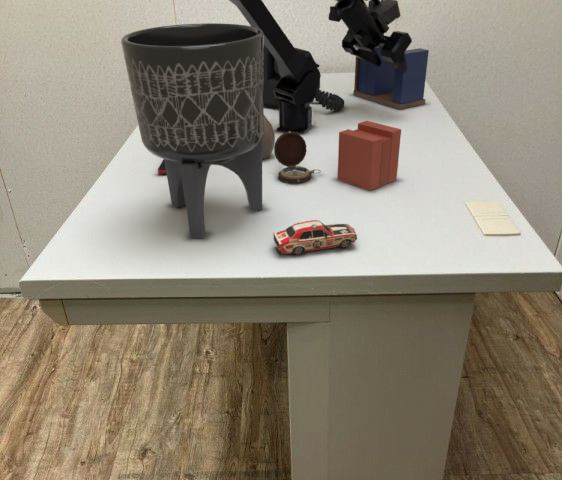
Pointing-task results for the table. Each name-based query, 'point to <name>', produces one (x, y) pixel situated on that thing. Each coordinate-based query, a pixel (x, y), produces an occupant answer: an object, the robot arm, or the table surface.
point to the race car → (313, 237)
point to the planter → (200, 106)
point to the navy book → (411, 77)
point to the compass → (292, 157)
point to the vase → (267, 138)
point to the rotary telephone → (273, 77)
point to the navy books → (375, 76)
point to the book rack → (382, 98)
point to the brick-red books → (369, 155)
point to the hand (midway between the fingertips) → (392, 67)
